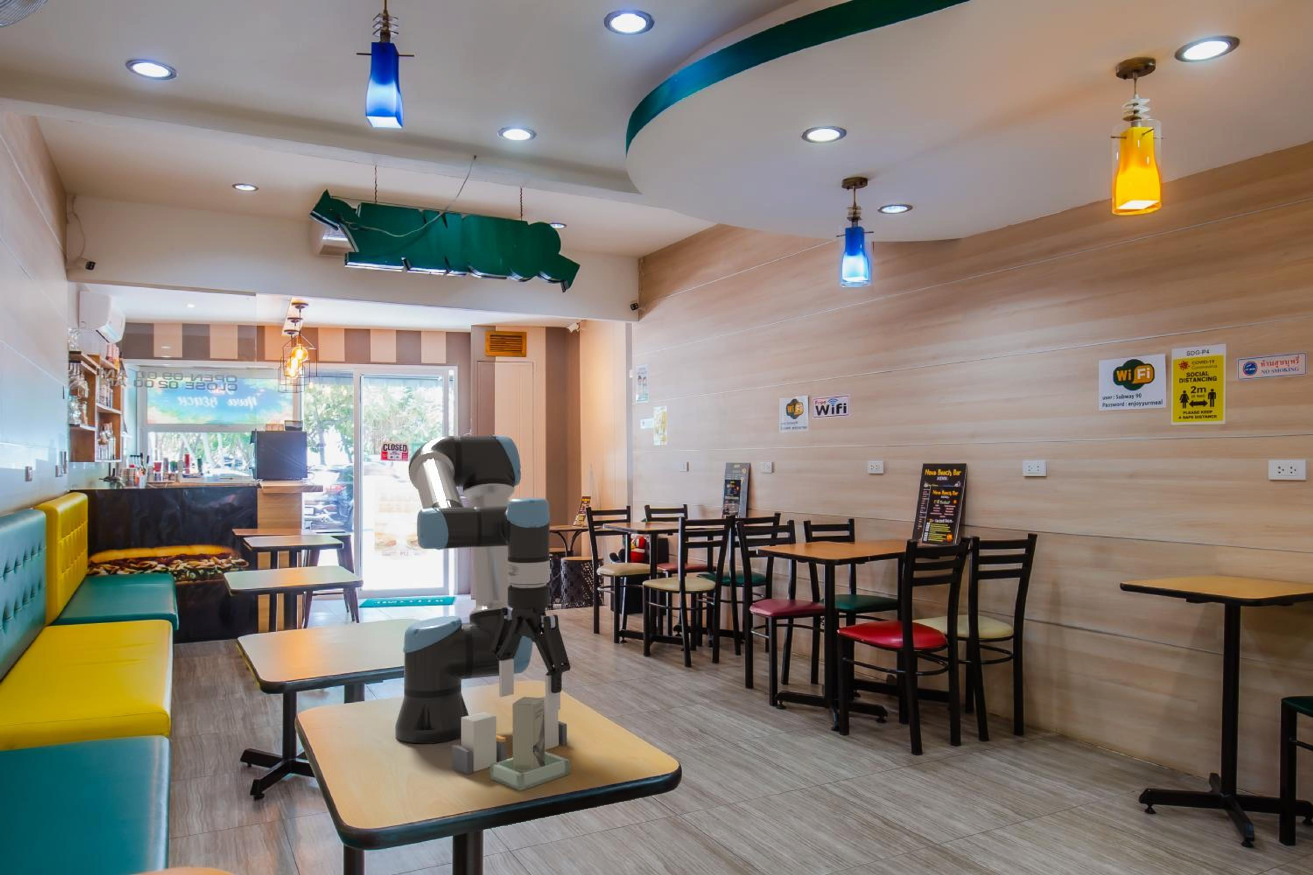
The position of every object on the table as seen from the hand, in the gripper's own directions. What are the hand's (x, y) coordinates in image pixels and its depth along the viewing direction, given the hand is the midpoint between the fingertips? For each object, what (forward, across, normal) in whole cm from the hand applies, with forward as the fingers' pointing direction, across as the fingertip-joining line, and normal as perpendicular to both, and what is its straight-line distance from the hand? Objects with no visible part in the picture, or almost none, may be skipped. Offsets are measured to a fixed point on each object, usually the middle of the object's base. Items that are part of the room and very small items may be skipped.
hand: (529, 702), depth 157 cm
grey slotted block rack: (+13, -11, +4) cm, 18 cm away
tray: (+13, +1, 0) cm, 13 cm away
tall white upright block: (+13, -11, -3) cm, 17 cm away
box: (+12, 0, 0) cm, 13 cm away
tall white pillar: (+13, -11, +12) cm, 21 cm away
